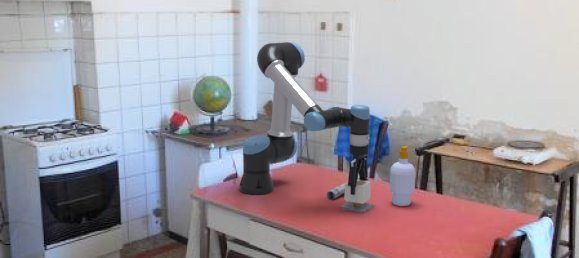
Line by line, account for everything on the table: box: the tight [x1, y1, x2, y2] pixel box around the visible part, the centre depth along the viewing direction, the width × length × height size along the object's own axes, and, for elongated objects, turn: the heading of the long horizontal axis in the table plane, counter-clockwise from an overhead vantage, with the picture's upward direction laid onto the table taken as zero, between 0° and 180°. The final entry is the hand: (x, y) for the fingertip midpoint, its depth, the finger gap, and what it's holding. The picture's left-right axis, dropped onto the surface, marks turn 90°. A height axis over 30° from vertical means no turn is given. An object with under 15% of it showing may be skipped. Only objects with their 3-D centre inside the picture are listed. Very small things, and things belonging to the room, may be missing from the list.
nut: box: [344, 180, 372, 204], centre depth 240 cm, size 8×8×7 cm
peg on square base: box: [340, 201, 374, 214], centre depth 241 cm, size 10×10×9 cm
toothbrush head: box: [326, 174, 360, 200], centre depth 261 cm, size 5×7×25 cm
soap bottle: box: [389, 145, 416, 207], centre depth 245 cm, size 10×10×24 cm
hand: (357, 198), depth 241 cm, fingers closed on nut, 8 cm apart
